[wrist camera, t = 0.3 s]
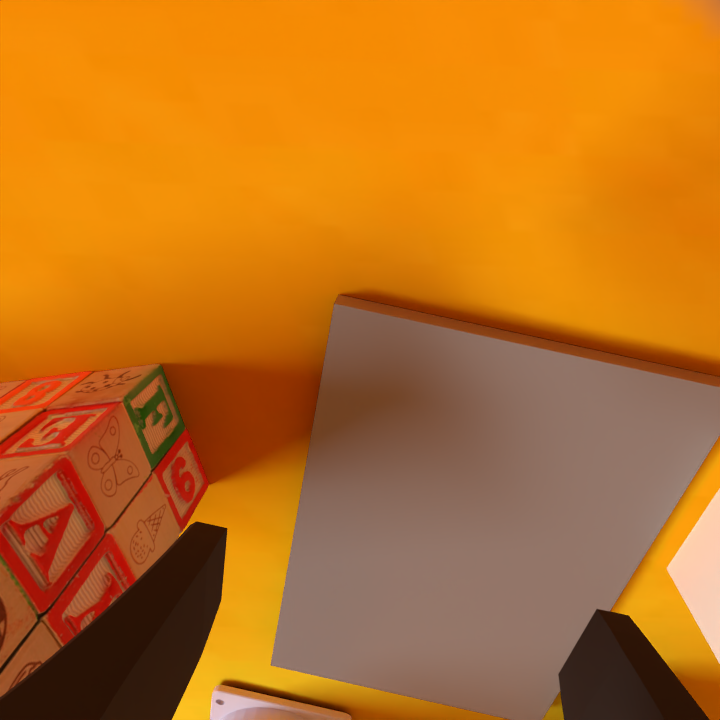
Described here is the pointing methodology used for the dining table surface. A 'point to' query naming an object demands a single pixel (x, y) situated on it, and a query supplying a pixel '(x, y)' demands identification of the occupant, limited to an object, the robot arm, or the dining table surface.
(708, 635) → the cream brick
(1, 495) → the stack of blocks
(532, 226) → the dining table surface
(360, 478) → the baseplate
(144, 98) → the dining table surface
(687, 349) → the dining table surface
